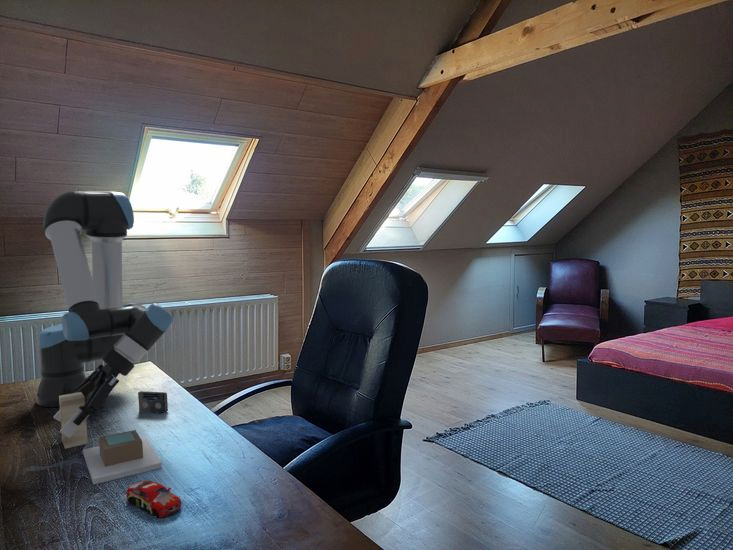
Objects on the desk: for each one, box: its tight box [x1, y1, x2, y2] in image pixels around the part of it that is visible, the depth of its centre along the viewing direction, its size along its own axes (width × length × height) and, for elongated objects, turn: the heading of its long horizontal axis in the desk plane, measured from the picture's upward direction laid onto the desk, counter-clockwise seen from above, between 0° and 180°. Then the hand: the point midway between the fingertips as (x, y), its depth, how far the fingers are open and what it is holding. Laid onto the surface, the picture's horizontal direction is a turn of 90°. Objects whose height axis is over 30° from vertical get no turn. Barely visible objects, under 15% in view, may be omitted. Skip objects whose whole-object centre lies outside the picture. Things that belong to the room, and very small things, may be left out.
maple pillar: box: [59, 392, 89, 449], centre depth 137 cm, size 5×5×12 cm
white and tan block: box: [82, 429, 163, 485], centre depth 127 cm, size 18×14×5 cm
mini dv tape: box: [137, 390, 169, 414], centre depth 159 cm, size 8×2×6 cm, turn 80°
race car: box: [126, 480, 182, 519], centre depth 107 cm, size 13×5×4 cm, turn 53°
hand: (61, 427), depth 135 cm, fingers open, 11 cm apart
